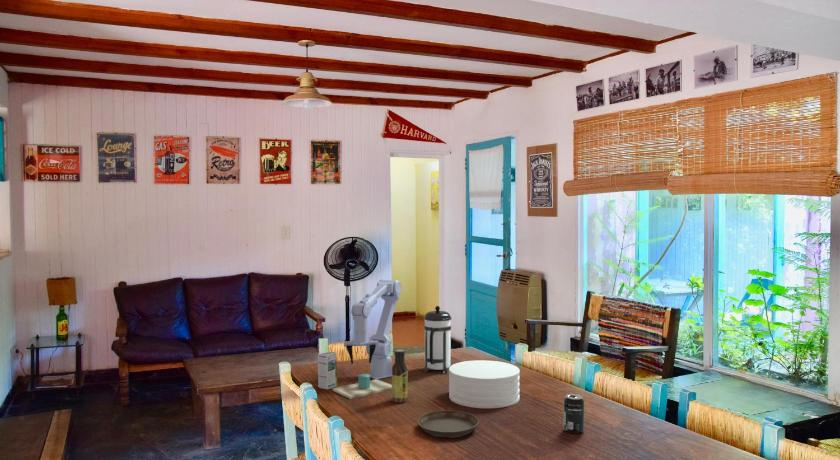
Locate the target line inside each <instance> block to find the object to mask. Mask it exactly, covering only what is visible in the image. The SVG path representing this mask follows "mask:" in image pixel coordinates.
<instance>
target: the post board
mask: <svg viewBox="0 0 840 460" xmlns="http://www.w3.org/2000/svg"><path fill="white" fill-rule="evenodd" d="M332 391H333V392H334V393H336V394H339V395H341V396H343V397H345V398H347V399H350V400H351V399H355V398H361V397H366V396H369V395H373V394H378V393H382V392H387V391H392V383H388V382H385V381H382V380H380V379H372V380H371V379H370V388H368V389H359V388H358V382H356V383H351V384H347V385H342V386H341V385H340V386H337V387H333V388H332Z"/></svg>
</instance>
